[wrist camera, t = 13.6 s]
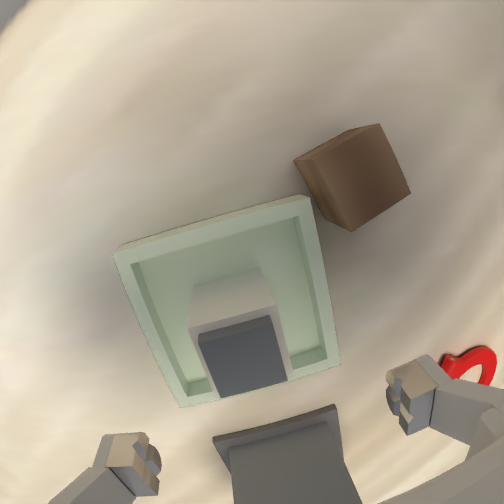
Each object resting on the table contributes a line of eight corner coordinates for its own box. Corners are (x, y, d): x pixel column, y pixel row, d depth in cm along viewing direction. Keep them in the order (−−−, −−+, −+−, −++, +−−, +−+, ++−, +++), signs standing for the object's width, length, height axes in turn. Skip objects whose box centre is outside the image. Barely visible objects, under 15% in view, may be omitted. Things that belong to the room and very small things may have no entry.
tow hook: (501, 343, 25) (446, 343, 23) (587, 410, 12) (554, 438, 10) (463, 412, 27) (403, 423, 25) (531, 485, 14) (477, 524, 12)
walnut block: (348, 130, 18) (379, 123, 14) (376, 187, 19) (411, 193, 15) (293, 160, 18) (313, 159, 14) (324, 219, 19) (351, 232, 15)
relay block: (260, 267, 19) (279, 311, 13) (275, 326, 20) (298, 384, 14) (193, 286, 19) (185, 337, 13) (213, 343, 20) (215, 406, 14)
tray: (299, 193, 19) (309, 197, 17) (330, 348, 22) (340, 364, 20) (122, 245, 18) (111, 254, 16) (182, 388, 21) (180, 407, 19)
